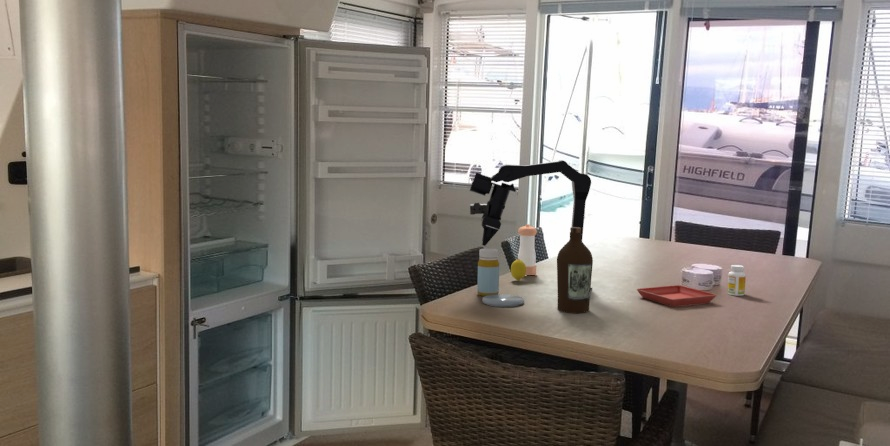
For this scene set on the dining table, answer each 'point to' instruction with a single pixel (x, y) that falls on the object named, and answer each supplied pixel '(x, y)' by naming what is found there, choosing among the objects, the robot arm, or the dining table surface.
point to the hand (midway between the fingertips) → (483, 243)
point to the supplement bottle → (736, 281)
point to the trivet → (503, 300)
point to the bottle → (488, 272)
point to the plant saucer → (676, 295)
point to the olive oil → (574, 275)
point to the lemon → (518, 269)
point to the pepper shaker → (528, 248)
